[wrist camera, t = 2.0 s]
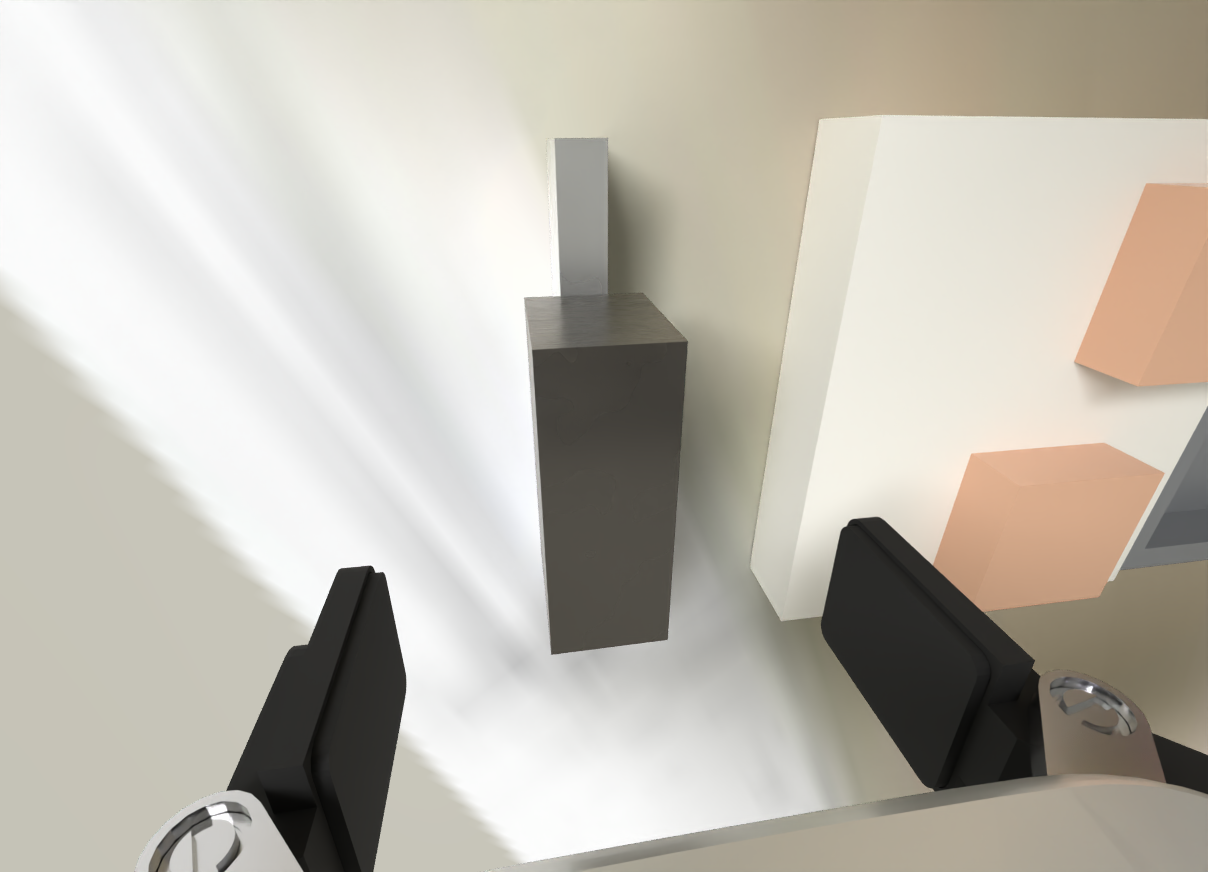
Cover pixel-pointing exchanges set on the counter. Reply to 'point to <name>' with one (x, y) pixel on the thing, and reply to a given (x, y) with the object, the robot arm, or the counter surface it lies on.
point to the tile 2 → (1156, 293)
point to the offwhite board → (954, 323)
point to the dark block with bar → (601, 424)
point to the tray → (1178, 511)
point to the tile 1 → (1043, 523)
